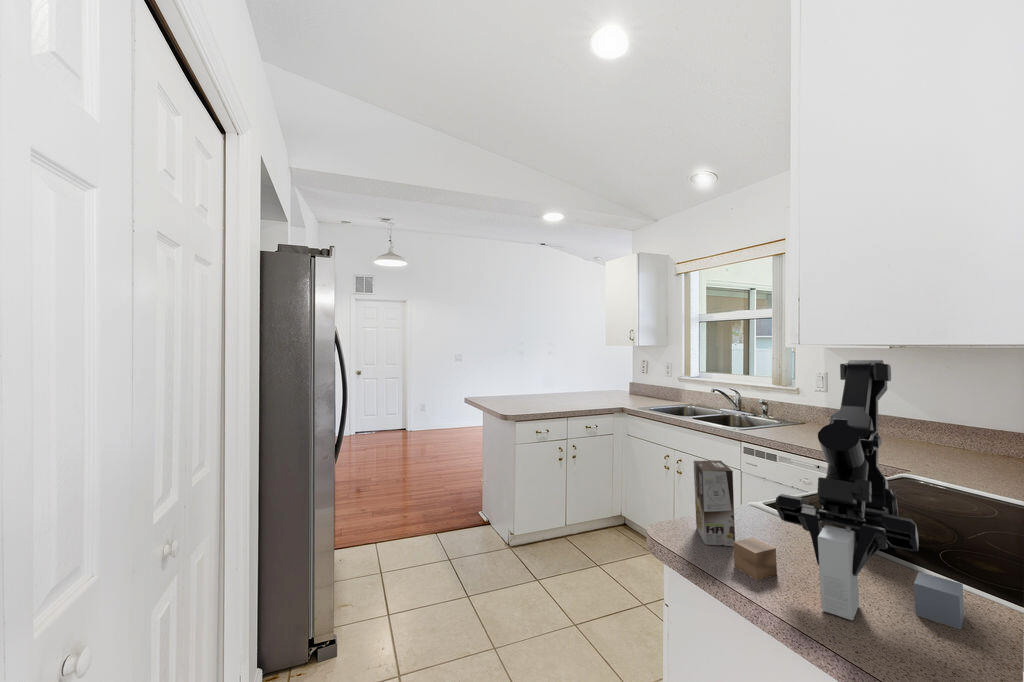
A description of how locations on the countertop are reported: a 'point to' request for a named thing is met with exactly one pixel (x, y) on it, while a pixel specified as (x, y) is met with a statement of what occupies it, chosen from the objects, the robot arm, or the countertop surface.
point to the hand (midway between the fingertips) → (836, 569)
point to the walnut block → (755, 558)
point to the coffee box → (714, 502)
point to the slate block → (939, 600)
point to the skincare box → (838, 572)
